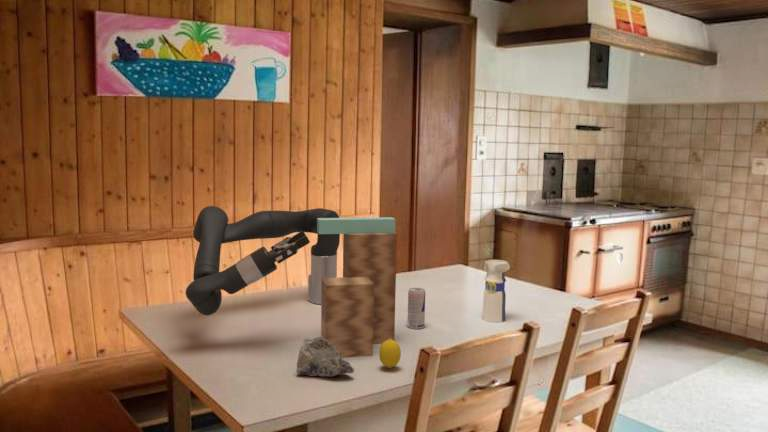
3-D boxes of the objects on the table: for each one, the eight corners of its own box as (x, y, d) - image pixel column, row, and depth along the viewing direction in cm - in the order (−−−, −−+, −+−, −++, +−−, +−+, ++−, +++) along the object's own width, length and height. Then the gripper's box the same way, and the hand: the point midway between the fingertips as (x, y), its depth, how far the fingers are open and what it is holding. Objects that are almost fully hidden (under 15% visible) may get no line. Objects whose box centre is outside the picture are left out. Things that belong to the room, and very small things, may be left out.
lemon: (378, 364, 173) (378, 335, 172) (399, 364, 173) (399, 335, 172) (379, 372, 167) (380, 342, 166) (401, 372, 168) (402, 342, 167)
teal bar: (318, 234, 184) (319, 220, 183) (317, 231, 188) (317, 218, 187) (395, 233, 189) (395, 219, 188) (391, 230, 193) (392, 217, 192)
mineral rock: (356, 379, 163) (357, 339, 162) (321, 389, 156) (321, 348, 155) (325, 364, 173) (326, 327, 171) (291, 373, 165) (291, 335, 164)
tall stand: (346, 345, 188) (348, 234, 184) (342, 336, 196) (343, 230, 191) (394, 342, 191) (396, 234, 187) (387, 334, 199) (390, 229, 195)
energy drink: (426, 325, 209) (427, 288, 207) (421, 330, 204) (422, 292, 202) (410, 323, 210) (411, 286, 209) (405, 328, 205) (406, 290, 204)
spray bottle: (501, 324, 212) (505, 248, 208) (477, 319, 216) (480, 245, 213) (510, 318, 218) (514, 244, 215) (487, 314, 223) (490, 241, 220)
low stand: (325, 358, 177) (326, 285, 174) (321, 347, 186) (321, 278, 183) (372, 355, 180) (374, 284, 177) (366, 344, 189) (367, 276, 186)
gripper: (249, 259, 175) (302, 228, 177) (248, 250, 189) (297, 221, 191) (264, 283, 177) (316, 252, 179) (261, 271, 191) (310, 243, 193)
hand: (306, 236), depth 185 cm, fingers open, 8 cm apart
